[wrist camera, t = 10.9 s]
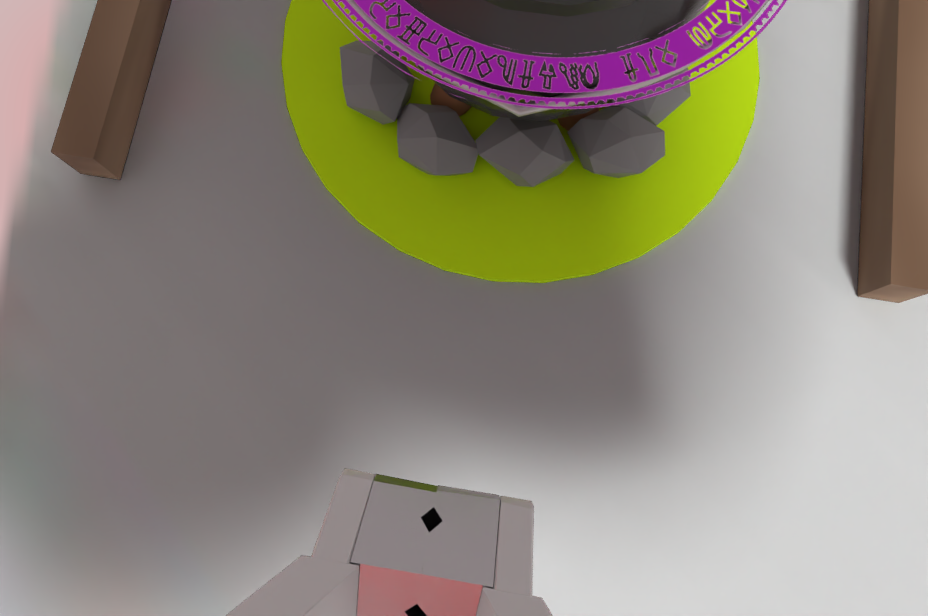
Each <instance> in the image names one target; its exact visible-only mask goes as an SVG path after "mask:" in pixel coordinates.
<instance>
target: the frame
mask: <svg viewBox="0 0 928 616" xmlns="http://www.w3.org/2000/svg"><path fill="white" fill-rule="evenodd" d="M170 3H171V0H98V1H97V4H96V8H95V11H94V14H93V17H92V20H91V24H90V27H89V30H88V33H87V37H86V40H85V43H84V46H83V49H82V53H81V56H80V59H79V62H78V66H77V69H76V72H75V75H74V79H73V82H72V85H71V88H70V91H69V95H68V98H67V101H66V104H65V108H64V111H63V114H62V117H61V120H60V124H59V127H58V130H57V133H56V137H55V140H54V143H53V146H52V150H51V152H52V153H53V154H54V155H56V156H57V157H59V158H60V159H61V160H63V161H64V162H66V163H67V164H68V165H70V166H71V167H72V168H74V169H75V170H77V171H78V172H79V173H81V174H86V175H93V176H99V177H105V178H112V179H118V180H120V179H121V175H122V172H123V168H124V165H125V161H126V158H127V154H128V151H129V147H130V144H131V140H132V137H133V133H134V130H135V126H136V123H137V119H138V116H139V112H140V109H141V105H142V101H143V98H144V94H145V91H146V87H147V84H148V80H149V77H150V73H151V70H152V66H153V63H154V59H155V56H156V52H157V49H158V45H159V42H160V38H161V35H162V31H163V28H164V24H165V21H166V17H167V13H168V10H169V6H170ZM925 294H928V0H869V16H868V41H867V67H866V92H865V118H864V143H863V168H862V194H861V219H860V245H859V270H858V297H865V298H871V299H877V300H884V301H890V302H896V303H900V302H903V301H906V300H909V299H912V298H915V297H918V296H922V295H925Z"/></svg>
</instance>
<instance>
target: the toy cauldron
mask: <svg viewBox="0 0 928 616" xmlns="http://www.w3.org/2000/svg"><path fill="white" fill-rule="evenodd" d="M768 1H769V0H292V1H291V4H290V7H289V10H288V13H287V16H286V20H285V28H284V39H283V50H282V61H281V64H282V72H283V80H284V88H285V95H286V103H287V109H288V112H289V114H290V117H291V120H292V123H293V126H294V128H295V131H296V134H297V137H298V140H299V142H300V145H301V148H302V150H303V152H304V154H305V155H306V157H307V158H308V160H309V162H310V163H311V165H312V166H313V168H314V170H315V171H316V173H317V175H318V176H319V178H320V179H321V181H322V183H323V184H324V186H325V187H326V189H327V190H328V191H329V192H330V193H331V194H332V195H333V196H334V197H335V198H336V199H337V200H338V201H339V202H340V204H341V205H342V206H343V207H344V208H345V209H346V210H347V211H348V212H349V213H350V214H351V215H352V216H353V217H354V218H355V219H356V220H357V221H358V222H359V223H360V224H361V225H363V226H364V227H366V228H367V229H369V230H370V231H371V232H373V233H374V234H376V235H377V236H379V237H380V238H382V239H383V240H384V241H386V242H387V243H389V244H390V245H392V246H393V247H394V248H396V249H397V250H399V251H401V252H403V253H406V254H408V255H410V256H413V257H415V258H417V259H419V260H422V261H424V262H426V263H429V264H431V265H433V266H435V267H438V268H440V269H442V270H445V271H449V272H454V273H458V274H463V275H467V276H472V277H476V278H480V279H485V280H489V281H497V282H530V283H546V282H552V281H558V280H564V279H570V278H577V277H583V276H589V275H594V274H596V273H599V272H602V271H604V270H607V269H610V268H612V267H615V266H618V265H620V264H623V263H626V262H628V261H631V260H634V259H636V258H639V257H640V256H642V255H644V254H645V253H647V252H648V251H650V250H652V249H653V248H655V247H656V246H658V245H659V244H661V243H663V242H664V241H666V240H667V239H669V238H671V237H672V236H674V235H675V234H677V233H679V232H680V231H681V230H682V229H683V228H684V227H685V226H686V225H687V224H688V223H689V222H690V221H691V220H692V219H693V218H694V217H695V216H696V215H697V214H698V213H699V212H700V211H701V210H702V209H703V208H704V207H705V206H707V205H708V204H709V203H710V202H711V201H712V199H713V198H714V196H715V195H716V193H717V192H718V190H719V189H720V187H721V186H722V184H723V183H724V181H725V180H726V178H727V177H728V175H729V174H730V172H731V171H732V169H733V168H734V166H735V165H736V163H737V161H738V159H739V156H740V154H741V151H742V148H743V146H744V143H745V141H746V138H747V136H748V133H749V130H750V128H751V125H752V123H753V119H754V113H755V106H756V99H757V92H758V86H759V79H760V77H759V62H758V48H757V36H758V35H759V34H760V33H761V32H762V31H763V30H764V29H765V28H766V27H767V26H768V24H769V23H770V22H771V21H772V20H773V18H775V16H776V14H778V12H779V11H780V10H781V8H782V7H783V5H784V4H785V3H786V1H787V0H784V1H783V2H782V4H781V6H779V8H778V9H777V10H776V12H775V13H774V14H773V15H772V17H771V18H770V19H769V21H767V23H765V25H764V26H763V27H762V28H761V29H760V30H759V31H758V32H757V33H756V32H755V31H757V29H756V26H757V25H762V24H763V23H762V19H763V18H769V17H768V14H767V13H768V12H769V11H772V7H773V5H776V6H778V5H779V4H778V2H777V0H773V1H772V2H771V3H770V5H769V6H768V7H767V9H766V10H765V11H764V12H763V14H761V16H760V17H759V18H758V19H757V20H756V22H754V24H753V22H752V20H753V19H754V18H755V16H756V15H757V14H758V13H759V12H760V10H761V9H762V8H763V7H764V6H765V5H766V3H767V2H768Z"/></svg>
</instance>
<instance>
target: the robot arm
mask: <svg viewBox="0 0 928 616" xmlns="http://www.w3.org/2000/svg"><path fill="white" fill-rule="evenodd" d="M533 529H534V506H533V503H532V501H528V500H522V499H517V498H511V497H505V496H500V497H499V495H496V494H490V493H483V492H477V491H471V490H465V489H458V488H452V487H446V486H440V485H438V486H434V485H429V484H424V483H419V482H414V481H409V480H404V479H399V478H394V477H389V476H384V475H379V474H373V473H367V472H362V471H357V470H352V469H346V468H345V469H344V470H343V472H342V473H341V475H340V476H339V479H338V482H337V485H336V487H335V490H334V493H333V496H332V499H331V502H330V504H329V507H328V510H327V513H326V516H325V519H324V521H323V524H322V527H321V530H320V533H319V536H318V538H317V541H316V544H315V547H314V550H313V553H312V555H311V557H310V556H303V555H301V556H300V557H299V558H297V559H296V560H295V561H294V562H292V563H291V564H290V565H289V566H287V567H286V568H285V569H284V570H282V571H281V572H280V573H279V574H277V575H276V576H275V577H273V578H272V579H271V580H270V581H268V582H267V583H266V584H265V585H263V586H262V587H261V588H260V589H258V590H257V591H256V592H255V593H253V594H252V595H251V596H250V597H248V598H247V599H246V600H245V601H243V602H242V603H241V604H239V605H238V606H237V607H236V608H234V609H233V610H232V611H231V612H229V613H228V614H227V615H226V616H553V615H552V614H551V612H550V610H549V609H548V607H547V605H546V604H545V602H544V600H543V599H542V598H541V597H536V596H532V578H533Z"/></svg>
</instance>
